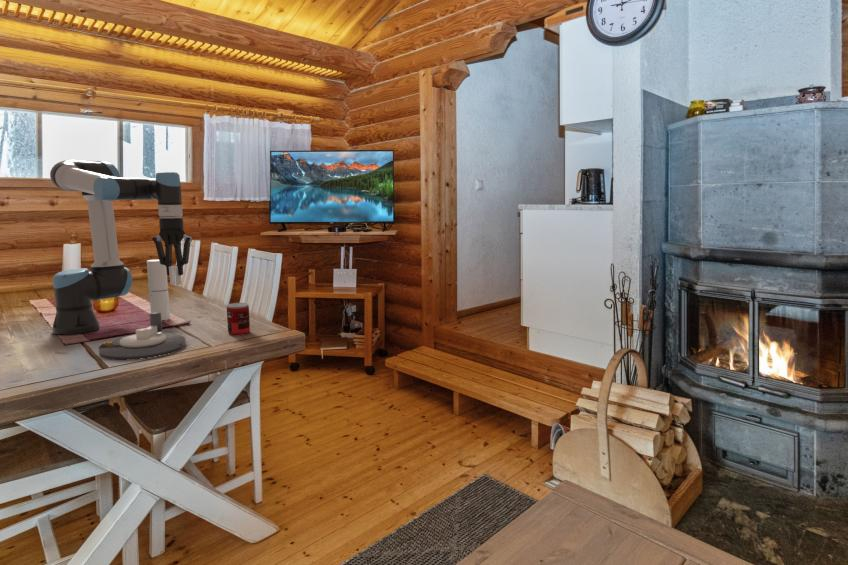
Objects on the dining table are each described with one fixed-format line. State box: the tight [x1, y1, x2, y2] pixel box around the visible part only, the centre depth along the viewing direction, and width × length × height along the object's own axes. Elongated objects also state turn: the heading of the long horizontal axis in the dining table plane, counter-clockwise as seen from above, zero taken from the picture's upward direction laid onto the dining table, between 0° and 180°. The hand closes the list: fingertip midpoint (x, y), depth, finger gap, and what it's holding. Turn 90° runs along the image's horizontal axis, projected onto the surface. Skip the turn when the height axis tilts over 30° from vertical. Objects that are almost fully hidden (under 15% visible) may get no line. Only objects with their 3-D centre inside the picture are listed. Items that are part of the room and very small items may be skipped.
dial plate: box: [98, 331, 187, 361], centre depth 181 cm, size 26×26×2 cm
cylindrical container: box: [146, 258, 171, 321], centre depth 222 cm, size 7×7×25 cm
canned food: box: [226, 302, 251, 336], centre depth 201 cm, size 8×8×11 cm
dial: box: [119, 312, 166, 348], centre depth 182 cm, size 19×14×8 cm
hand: (175, 284), depth 188 cm, fingers closed
